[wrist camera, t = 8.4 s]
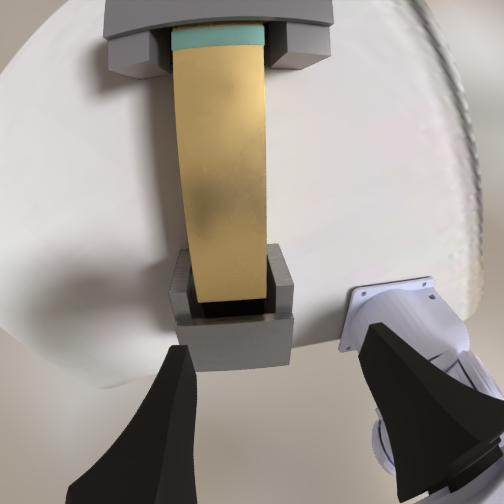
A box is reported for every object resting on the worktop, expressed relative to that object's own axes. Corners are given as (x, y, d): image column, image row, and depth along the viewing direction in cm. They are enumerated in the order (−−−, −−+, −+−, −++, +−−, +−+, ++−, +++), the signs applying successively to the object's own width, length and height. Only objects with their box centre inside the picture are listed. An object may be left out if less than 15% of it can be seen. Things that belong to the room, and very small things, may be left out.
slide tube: (253, 39, 13) (263, 17, 9) (258, 259, 20) (267, 298, 16) (184, 44, 12) (171, 22, 9) (201, 263, 20) (197, 303, 16)
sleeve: (278, 243, 20) (296, 291, 15) (276, 317, 23) (288, 368, 18) (179, 250, 19) (167, 299, 14) (193, 323, 23) (189, 376, 18)
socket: (299, 15, 12) (330, -17, 7) (302, 69, 14) (335, 54, 9) (138, 24, 11) (106, -4, 7) (138, 79, 13) (102, 68, 8)
